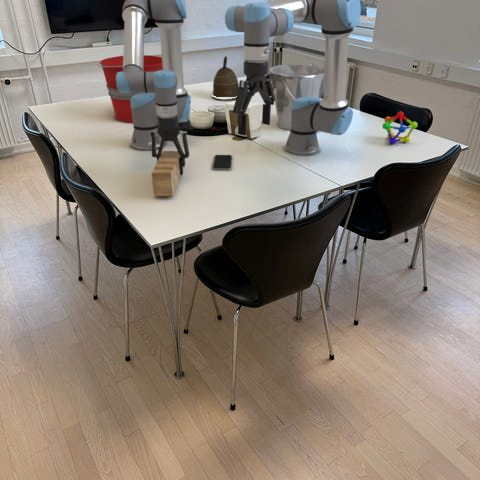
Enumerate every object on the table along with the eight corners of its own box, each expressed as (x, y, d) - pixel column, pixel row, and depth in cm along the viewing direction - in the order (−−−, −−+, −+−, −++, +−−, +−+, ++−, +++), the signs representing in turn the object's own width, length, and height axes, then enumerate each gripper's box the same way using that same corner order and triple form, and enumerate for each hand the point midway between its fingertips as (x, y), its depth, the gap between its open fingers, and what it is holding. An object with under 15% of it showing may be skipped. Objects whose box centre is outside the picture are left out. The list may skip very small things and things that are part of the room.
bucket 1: (115, 106, 261) (107, 52, 245) (174, 107, 260) (170, 52, 244) (97, 124, 232) (87, 64, 216) (164, 125, 231) (159, 65, 215)
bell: (227, 105, 294) (202, 96, 282) (238, 66, 289) (213, 55, 277) (243, 108, 280) (217, 98, 268) (255, 66, 275) (229, 55, 263)
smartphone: (212, 168, 182) (215, 154, 194) (213, 169, 182) (215, 156, 195) (230, 168, 182) (231, 154, 194) (230, 170, 182) (231, 156, 195)
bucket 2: (296, 138, 215) (301, 78, 201) (255, 124, 234) (256, 68, 219) (335, 125, 232) (342, 70, 217) (294, 113, 251) (297, 61, 236)
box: (165, 171, 177) (163, 150, 172) (182, 172, 177) (180, 151, 172) (153, 195, 159) (151, 173, 154) (172, 196, 158) (170, 173, 154)
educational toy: (377, 146, 209) (379, 114, 202) (384, 138, 219) (386, 107, 211) (411, 149, 202) (415, 116, 195) (417, 141, 212) (420, 109, 204)
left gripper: (138, 118, 159) (145, 177, 171) (192, 119, 158) (196, 178, 171) (143, 112, 165) (149, 169, 178) (195, 113, 165) (198, 170, 177)
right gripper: (241, 68, 124) (240, 141, 135) (288, 56, 141) (284, 122, 152) (220, 65, 127) (221, 136, 139) (268, 53, 144) (266, 118, 156)
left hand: (172, 173), depth 174 cm, fingers closed on box, 7 cm apart
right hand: (254, 129), depth 145 cm, fingers open, 13 cm apart
